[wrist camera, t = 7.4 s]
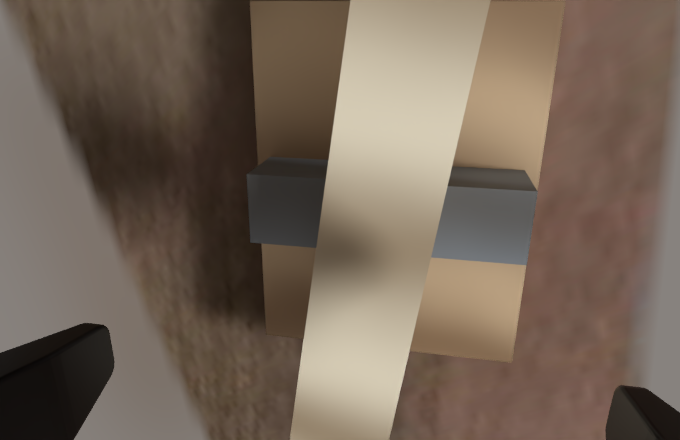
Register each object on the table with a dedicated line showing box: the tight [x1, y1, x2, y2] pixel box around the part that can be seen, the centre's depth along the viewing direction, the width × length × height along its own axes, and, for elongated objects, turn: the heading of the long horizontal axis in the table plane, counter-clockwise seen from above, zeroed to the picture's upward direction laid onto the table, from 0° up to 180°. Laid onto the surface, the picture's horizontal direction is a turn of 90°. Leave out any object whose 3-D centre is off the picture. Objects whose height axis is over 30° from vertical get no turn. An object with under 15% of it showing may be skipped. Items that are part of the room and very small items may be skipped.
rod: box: [290, 0, 491, 440], centre depth 15 cm, size 14×3×3 cm, turn 172°
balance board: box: [247, 1, 566, 363], centre depth 18 cm, size 13×10×4 cm
